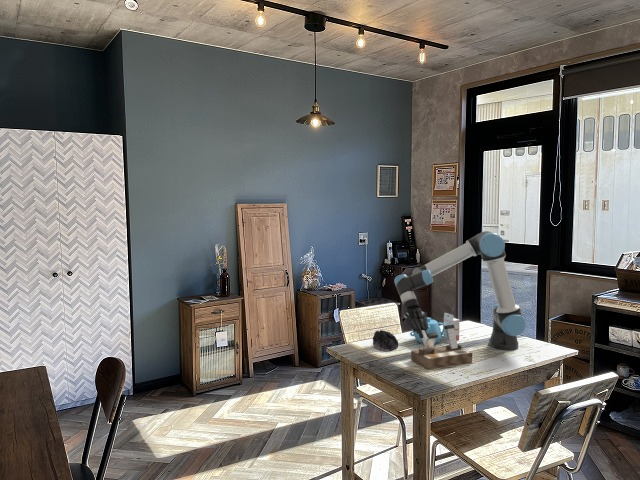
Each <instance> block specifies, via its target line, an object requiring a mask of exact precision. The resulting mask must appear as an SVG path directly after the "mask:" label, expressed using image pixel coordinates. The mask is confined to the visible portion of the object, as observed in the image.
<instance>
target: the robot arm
mask: <svg viewBox="0 0 640 480" xmlns="http://www.w3.org/2000/svg"><path fill="white" fill-rule="evenodd" d="M505 247H506V243H505V240H504V238H503V237H502V236H501V235H500V234H498V233H496V232H492V231H488V230H485V231H481V232H480V233H477V234H476V235H475V236H472V237H471V238H469V239H467V240H466V241H465V243H463V244H461V245H460V246H458V247H456V248H454V249H453V250H450V251H448V252H447V253H444V254H442V255H441V256H439V257H437V258H434V260H431V261H429V262H427V263H425V264H424V265H422V266H420V267H415V268H414V269H412V273H411V275H410V276H407V274H405V273H402V274H399V275H397V276H395V278H394V284H395V288H396V290H397V292H398V295H399V298H400V300H401V303H402V305H403V308H404V311H405V313H404V315H403V316H402V318H403V319H404V320H406V321H407V323H408V325H409V326H410V328H411V330H412V329H413V331H414V332H417V334H419V336H420V338H422V341H423V344H424V345H425V343H426V340H427V332H426V330H427V329H428V323H427V317H428V316H427V311H422V309H421V308H420V303H419V301H418V300H417V296H416V294H415V292H414V290H417V289H420V288H422V287H425V286H429V285H431V284H432V283H434V278H433V277H434V276H436V275H438V274H439V273H442V272H443V271H446V270H448V269H450V268H451V267H454V266H455V265H457V264H459V263H461V262H463V261H465V260H467V259H469V258H471V257H477V256H478V255H480V256H481V260H482V262H483V263H485V264H486V267H487V271H488V274H489V278H490V282H491V286H492V289H493V292H494V297H495V300H496V304H494V305H493V309H492V311H493V312H492V331H491V335H490V338H489V340H488V345H489V346H490V347H491V348H495V349H498V350H504V351H508V350H509V351H510V350H511V351H513V350H517V349H519V341H518V337H517V336H521V335H522V334H523V333H524V332H525V330H526V328H527V322H526V319H525V318H524V317H523V314H522V311H521V308H520V307H521V306H520V305H518V304H516V301H515V297H514V293H513V290H512V285H511V282H510V279H509V278H510V277H509V275H508V271H507V267H506V264H505V258H506V256H507V254H506V251H505ZM422 320H423V321H422ZM413 331H412V332H413ZM424 345H423V346H424Z"/></svg>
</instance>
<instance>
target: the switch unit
mask: <svg viewBox="0 0 640 480" xmlns="http://www.w3.org/2000/svg"><path fill="white" fill-rule="evenodd" d="M457 345H458V348H453V349H452V347H451V346H449V344H447V345H445V346H444V345H443V346H437V347H433V349H432V351H431V353H425V354H424V350H423V348H419V349H413V350H411V351H410V357H411V358H410V360H411V362H413V363H415V364H417V365H418V366H420V367H421V368H423V369H425V370H426V371H429V370H435V369H440V368H448V367H455V366H462V365H467V364H473V352H471V351H469V350H467V349H464V348H463V347H462V345H461V344H459V343H457Z"/></svg>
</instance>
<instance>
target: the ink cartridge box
mask: <svg viewBox="0 0 640 480" xmlns="http://www.w3.org/2000/svg"><path fill="white" fill-rule="evenodd" d="M460 321H461V320H460V319H458V318H456V317H455V316H454V314H451V313H447V312H444V314H443V324H444V325H445V326H447V325H454V327H455V328H454V331H455V335H456V340H457V341H459V340H460ZM443 333H444V334H445V335H446V337H445V338H444V339H447V334H446V330H444V332H443ZM442 336H444V335H442Z"/></svg>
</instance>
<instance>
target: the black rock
mask: <svg viewBox="0 0 640 480" xmlns="http://www.w3.org/2000/svg"><path fill="white" fill-rule="evenodd" d="M372 346H373V347H374V349H376V350H377V351H384V352H390V351H392V350H396V349H398V348H399V341H398V339H397V337H396V336H395V335H394V334H393V333H391V332H390V331H386V330H383V329H381V330H376V331H375V332H374V333H373V336H372Z"/></svg>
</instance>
